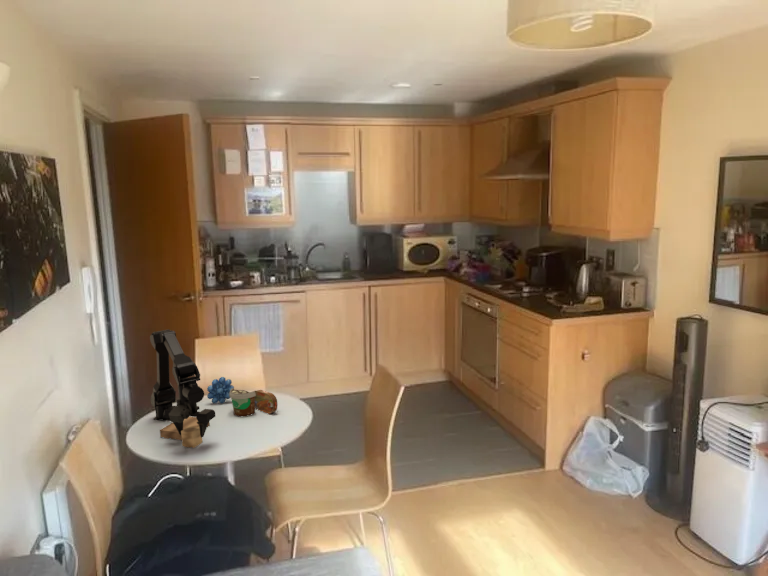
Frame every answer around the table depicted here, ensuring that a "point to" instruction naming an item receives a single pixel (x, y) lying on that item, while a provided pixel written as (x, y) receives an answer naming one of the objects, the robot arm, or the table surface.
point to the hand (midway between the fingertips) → (191, 435)
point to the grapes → (219, 390)
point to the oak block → (191, 436)
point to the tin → (265, 401)
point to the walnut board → (173, 433)
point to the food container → (242, 402)
